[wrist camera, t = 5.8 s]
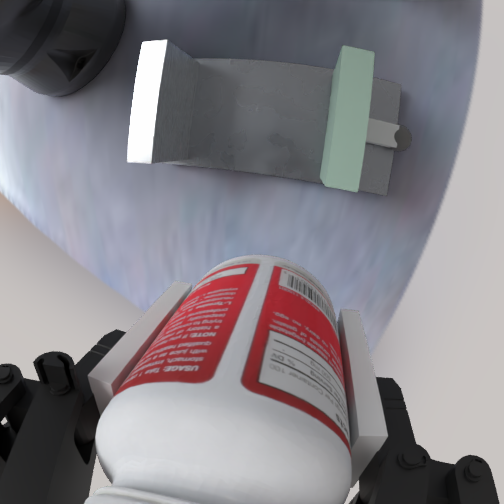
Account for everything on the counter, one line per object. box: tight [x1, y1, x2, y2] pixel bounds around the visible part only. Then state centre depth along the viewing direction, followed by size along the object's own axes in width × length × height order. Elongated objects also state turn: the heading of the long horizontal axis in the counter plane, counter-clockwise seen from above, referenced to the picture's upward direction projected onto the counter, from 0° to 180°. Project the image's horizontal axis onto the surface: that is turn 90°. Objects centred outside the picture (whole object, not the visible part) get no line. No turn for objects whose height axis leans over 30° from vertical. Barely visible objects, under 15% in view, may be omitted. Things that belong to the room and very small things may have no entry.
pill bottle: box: [84, 255, 352, 504], centre depth 8 cm, size 6×6×11 cm
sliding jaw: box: [320, 45, 412, 192], centre depth 20 cm, size 7×9×8 cm
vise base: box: [127, 40, 401, 196], centre depth 22 cm, size 20×10×8 cm, turn 83°
